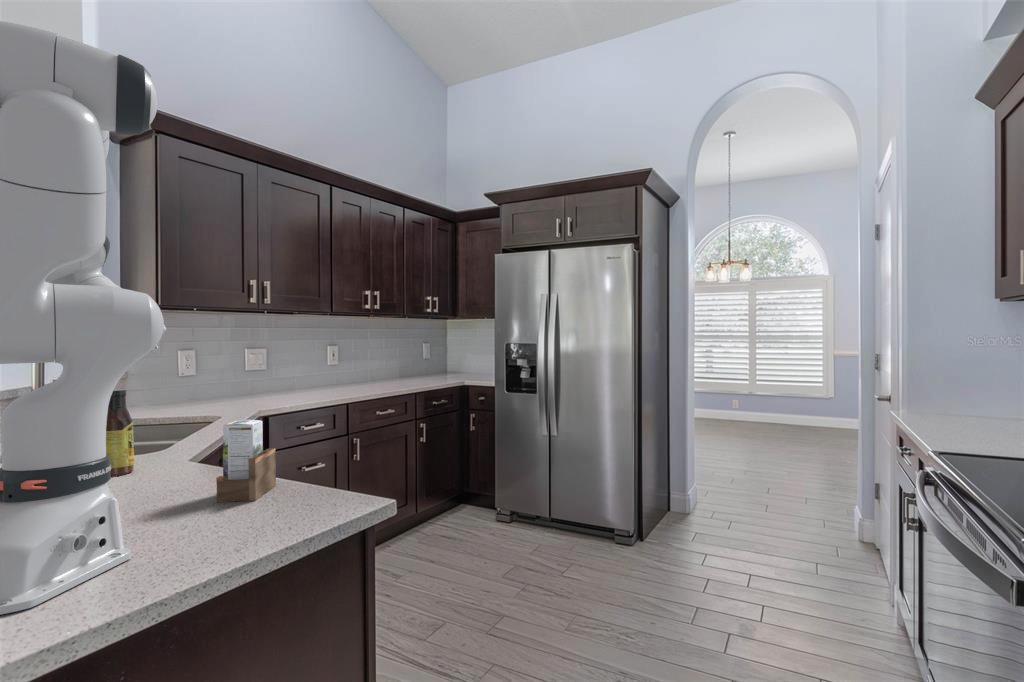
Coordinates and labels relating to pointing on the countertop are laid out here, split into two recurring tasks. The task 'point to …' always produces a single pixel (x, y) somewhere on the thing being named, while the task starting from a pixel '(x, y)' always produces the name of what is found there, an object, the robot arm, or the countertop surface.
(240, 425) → the syrup box
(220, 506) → the countertop surface
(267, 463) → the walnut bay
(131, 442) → the sauce bottle
